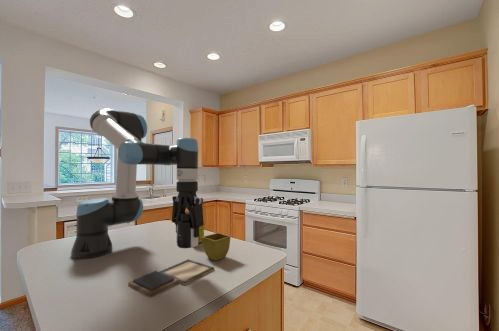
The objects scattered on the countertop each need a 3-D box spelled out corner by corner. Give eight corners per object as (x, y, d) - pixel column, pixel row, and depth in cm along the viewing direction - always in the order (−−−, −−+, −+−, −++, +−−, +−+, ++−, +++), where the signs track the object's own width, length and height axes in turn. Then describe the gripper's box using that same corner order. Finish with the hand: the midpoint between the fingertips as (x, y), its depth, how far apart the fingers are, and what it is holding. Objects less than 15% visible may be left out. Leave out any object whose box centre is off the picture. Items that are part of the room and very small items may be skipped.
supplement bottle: (173, 248, 81) (173, 213, 81) (182, 242, 88) (182, 210, 88) (191, 249, 80) (191, 214, 80) (199, 243, 86) (199, 211, 86)
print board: (157, 274, 82) (157, 271, 82) (188, 261, 93) (188, 258, 93) (184, 285, 74) (184, 282, 74) (214, 269, 85) (214, 267, 86)
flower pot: (201, 258, 97) (201, 236, 97) (217, 252, 103) (217, 232, 103) (214, 264, 91) (214, 241, 91) (231, 257, 97) (231, 236, 97)
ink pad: (133, 281, 74) (133, 280, 74) (155, 272, 81) (155, 270, 81) (151, 291, 69) (151, 289, 69) (173, 280, 75) (173, 278, 75)
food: (206, 245, 118) (186, 249, 113) (200, 234, 128) (181, 237, 123) (207, 217, 114) (187, 220, 110) (200, 208, 124) (181, 211, 120)
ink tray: (128, 285, 74) (128, 282, 74) (156, 273, 82) (156, 270, 82) (150, 297, 67) (150, 293, 67) (178, 282, 75) (178, 279, 75)
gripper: (161, 180, 86) (161, 242, 86) (199, 182, 75) (198, 252, 75) (177, 179, 93) (177, 237, 92) (214, 181, 82) (214, 246, 81)
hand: (187, 244), depth 84 cm, fingers closed on supplement bottle, 7 cm apart
